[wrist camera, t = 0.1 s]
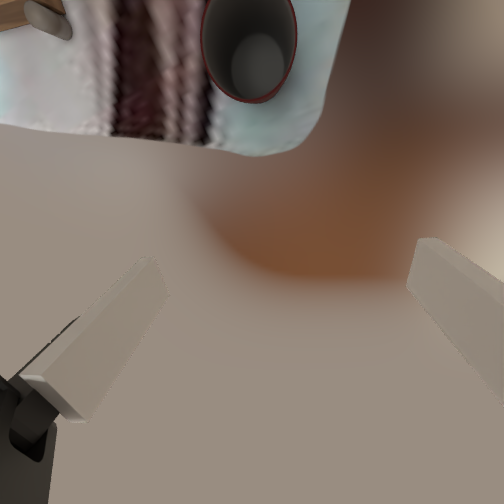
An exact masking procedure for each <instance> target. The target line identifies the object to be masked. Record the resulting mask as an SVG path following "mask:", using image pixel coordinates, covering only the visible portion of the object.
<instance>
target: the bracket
mask: <svg viewBox="0 0 504 504" xmlns="http://www.w3.org/2000/svg"><path fill="white" fill-rule="evenodd" d="M63 14H66V13H65V10H64V8H63V5H62V2H61V0H0V32H1V31H4V30H8V29H12V28H15V27H19V26H23V25H26V24H31V25H32V26H33V27H35V28H37V29H39V30H42V31H44V32H47V33H49V34H51V35H54V36H56V37H59V38H61V39H63V40H69V39H70V38H71V37H72V29H71V26H70V24H69V22H68V21H67V19H66V18H64V17H63V16H61V15H63Z"/></svg>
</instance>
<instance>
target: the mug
mask: <svg viewBox="0 0 504 504" xmlns="http://www.w3.org/2000/svg"><path fill="white" fill-rule="evenodd" d="M200 43H201V51H202V56H203V60H204V63H205V66H206V69H207V71H208V73H209V75H210V77H211V79H212V80H213V82H214V83H215V84H216V86H217V87H218V88H219V89H220V90H221V91H222V92H223V93H225V94H226V95H227V96H229V97H231V98H233V99H235V100H237V101H240V102H243V103H251V104H257V103H263V102H266V101H268V100H270V99H271V98H272V97H273V96H274V95H275V94H276V93H277V92H278V91H279V89H280V88H281V87H282V85H283V84H284V82H285V80H286V78H287V76H288V74H289V72H290V70H291V67H292V64H293V61H294V57H295V53H296V47H297V22H296V16H295V12H294V9H293V6H292V3H291V1H290V0H208V2H207V4H206V7H205V10H204V13H203V17H202V22H201V30H200Z"/></svg>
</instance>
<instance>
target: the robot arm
mask: <svg viewBox="0 0 504 504" xmlns="http://www.w3.org/2000/svg"><path fill="white" fill-rule="evenodd" d="M406 287H407V288H408V290H409V291H410V292H411V293H412V295H413V296H414V297H415V298H416V300H417V301H418V302H419V303H420V304H421V306H422V307H423V308H424V310H425V311H426V312H427V313H428V314H429V316H430V317H431V318H432V319H433V321H434V322H435V323H436V324H437V326H438V327H439V328H440V329H441V331H442V332H443V333H444V334H445V335H446V337H447V338H448V339H449V340H450V342H451V343H452V344H453V345H454V347H455V348H456V349H457V350H458V351H459V353H460V354H461V355H462V356H463V358H464V359H465V360H466V361H467V363H468V364H469V365H470V366H471V368H472V369H473V370H474V371H475V372H476V374H477V375H478V376H479V377H480V378H481V380H482V381H483V382H484V384H486V386H487V387H488V389H489V390H490V391H491V392H492V394H493V395H494V396H495V397H496V398H497V399H498V401H499V402H500V403H501V405H502V406H503V407H504V283H503V282H501V281H500V280H499V279H497V278H496V277H494V276H493V275H491V274H490V273H488V272H487V271H485V270H484V269H483V268H481V267H480V266H478V265H477V264H475V263H474V262H472V261H471V260H469V259H468V258H466V257H465V256H464V255H462V254H461V253H459V252H458V251H456V250H455V249H453V248H452V247H450V246H449V245H447V244H446V243H445V242H443V241H442V240H440V239H439V238H437V237H435V238H420V239H418V242H417V246H416V250H415V253H414V257H413V261H412V265H411V269H410V273H409V276H408V280H407V284H406ZM169 296H170V294H169V292H168V289H167V287H166V284H165V282H164V279H163V277H162V274H161V272H160V269H159V267H158V264H157V262H156V259H155V257H143V258H141V259H140V260H139V261H138V262H137V263H135V265H133V266H132V267H131V268H130V269H129V270H128V271H127V272H126V273H125V274H124V275H123V276H122V277H121V278H120V279H119V280H118V281H117V282H116V283H115V284H114V285H112V286H111V287H110V288H109V289H108V290H107V291H106V292H105V293H104V294H103V295H102V296H101V297H100V298H99V299H98V300H97V301H96V302H95V303H93V304H92V305H91V306H90V307H89V308H88V309H87V310H86V311H85V312H84V313H83V314H82V315H81V316H79V317H78V318H76V319H75V320H73V321H72V322H71V323H69V324H68V325H67V326H66V327H65V328H64V329H63V330H62V331H61V333H60V334H58V335H57V336H56V337H55V338H54V339H52V340H51V343H48V344H47V345H46V346H45V347H44V348H43V349H42V350H41V351H40V352H39V353H38V354H36V356H34V357H33V358H32V359H31V360H30V361H29V362H28V363H27V364H26V365H25V366H24V367H23V368H22V369H20V370H19V371H18V372H17V373H16V374H15V375H14V376H13V377H12V378H11V379H10V380H8V381H6V380H5V379H4V378H3V377H2V376H1V375H0V504H48V498H49V490H50V482H51V474H52V466H53V458H54V450H55V442H56V434H57V426H56V423H54V422H53V421H54V420H55V418H56V417H57V416H58V415H59V413H60V414H61V415H62V416H64V417H65V418H66V419H67V420H68V421H69V422H82V423H88V422H89V421H90V419H91V418H92V416H93V414H94V413H95V412H96V410H97V408H98V407H99V405H100V404H101V402H102V401H103V399H104V398H105V396H106V394H107V393H108V391H109V390H110V388H111V387H112V385H113V384H114V382H115V380H116V379H117V377H118V376H119V374H120V373H121V371H122V370H123V368H124V366H125V365H126V363H127V362H128V360H129V359H130V357H131V356H132V354H133V352H134V351H135V349H136V348H137V346H138V345H139V343H140V341H141V340H142V338H143V337H144V335H145V334H146V332H147V331H148V329H149V328H150V326H151V324H152V323H153V321H154V320H155V318H156V317H157V315H158V314H159V312H160V310H161V309H162V307H163V306H164V304H165V302H166V301H167V299H168V298H169Z"/></svg>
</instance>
